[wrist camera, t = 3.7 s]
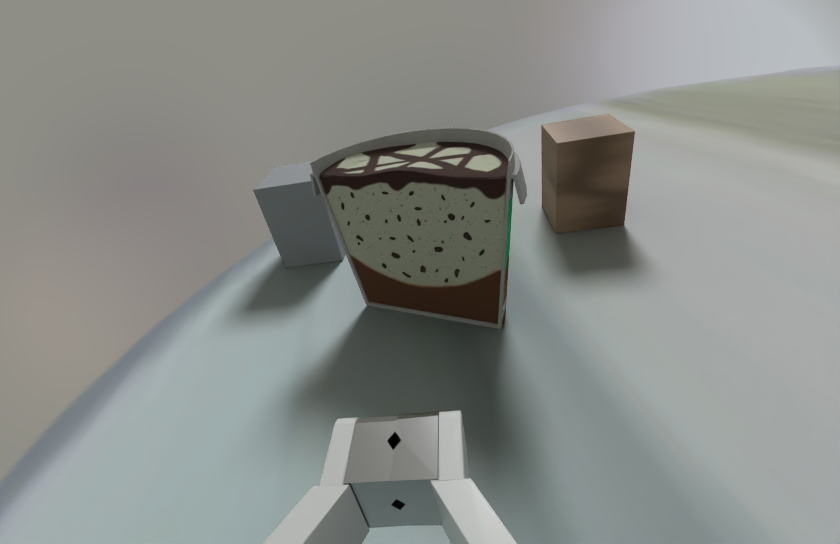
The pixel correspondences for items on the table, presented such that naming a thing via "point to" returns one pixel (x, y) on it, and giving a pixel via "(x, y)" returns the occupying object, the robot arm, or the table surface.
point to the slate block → (298, 217)
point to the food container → (426, 219)
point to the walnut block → (586, 172)
